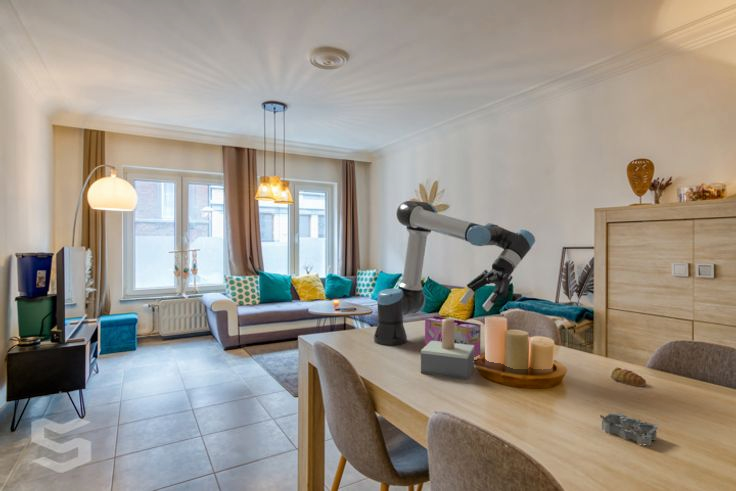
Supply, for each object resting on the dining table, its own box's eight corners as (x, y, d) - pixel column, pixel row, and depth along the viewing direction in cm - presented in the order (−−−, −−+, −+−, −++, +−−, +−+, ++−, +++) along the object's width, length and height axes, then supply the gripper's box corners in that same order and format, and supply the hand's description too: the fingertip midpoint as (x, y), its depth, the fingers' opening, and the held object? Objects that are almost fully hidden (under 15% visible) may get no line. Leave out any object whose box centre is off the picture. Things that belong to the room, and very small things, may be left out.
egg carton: (597, 431, 96) (597, 414, 96) (612, 422, 100) (612, 407, 100) (647, 450, 87) (647, 431, 87) (661, 440, 91) (661, 422, 91)
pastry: (650, 385, 125) (650, 373, 125) (638, 389, 122) (638, 377, 122) (620, 376, 133) (620, 365, 133) (608, 379, 130) (608, 368, 130)
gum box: (421, 349, 165) (421, 317, 165) (433, 346, 171) (433, 315, 170) (469, 363, 147) (469, 327, 147) (481, 359, 152) (481, 324, 152)
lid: (431, 343, 149) (431, 314, 149) (474, 347, 143) (474, 318, 142) (420, 353, 136) (420, 321, 136) (467, 358, 130) (467, 325, 130)
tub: (431, 361, 149) (431, 343, 149) (474, 367, 143) (474, 347, 143) (420, 373, 137) (420, 353, 136) (467, 379, 130) (467, 358, 130)
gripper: (536, 273, 138) (502, 318, 133) (489, 268, 161) (459, 307, 156) (524, 258, 136) (489, 304, 130) (479, 255, 159) (447, 294, 154)
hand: (472, 305), depth 143 cm, fingers open, 13 cm apart
